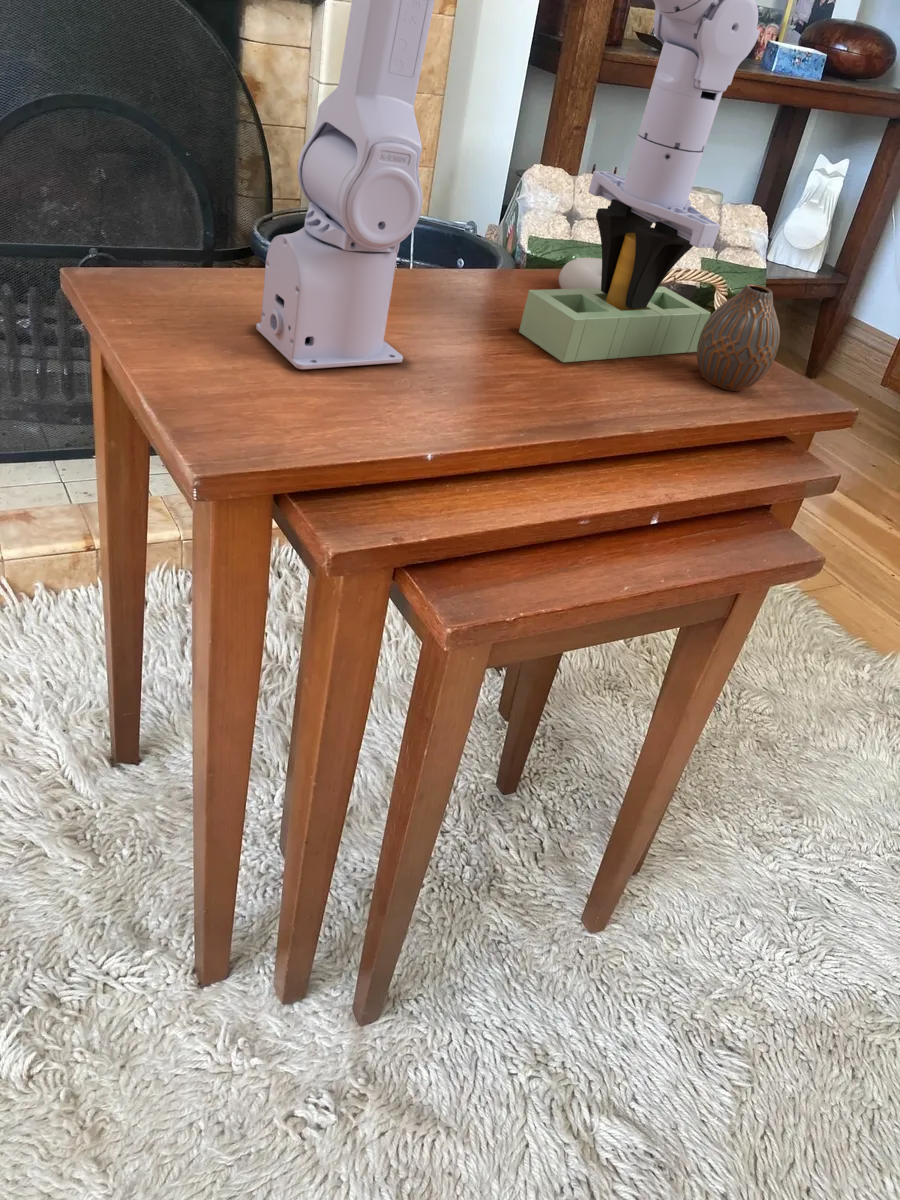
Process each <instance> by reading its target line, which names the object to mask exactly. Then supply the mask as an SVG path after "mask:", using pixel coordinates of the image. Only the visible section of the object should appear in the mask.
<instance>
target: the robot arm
mask: <svg viewBox="0 0 900 1200" xmlns="http://www.w3.org/2000/svg"><path fill="white" fill-rule="evenodd" d="M435 1H436V0H351V2H350V10H349V17H348V24H347V29H346V37H345V43H344V49H343V55H342V62H341V68H340V74H339V81H338V85H337V86H336V88H335V89H333V91H331V93H330V94H328V96H327V97H325V98H324V99H323V100H322V101H321V102H320V104H319V105H318V107H317V114H316V119H315V124H314V126H313V127H314V128H313V130H312V131H311V134H310V136H309V137H308V139H307V140H306V142H305V143H304V145H303V146H302V149H301V150H300V154H299V157H298V162H297V168H296V169H297V181H298V184H299V187H300V189H301V192H302V194H303V196H304V197H305V198H306V199H307V201H308V208H307V211H306V213H305V218H304V225H303V227H302V228H300V229H299V230H297V231H295V232H294V231H293V232H292V233H283V234H279V235H276V236H274V237H273V238H272V240H271V241H270V243H269V246H268V249H267V252H266V257H265V268H264V279H263V291H262V303H261V315H260V322H258V323H256V327H255V329H256V330H257V331H258V332H259V334H261V335H262V336H263V338H265V339H266V340H267V341H268V342H269V343H270V344H271V345H272V346H273V347H274V348H275V349H276V350H277V351H278V352H279V353H280V354H281V355H282V356H283V357H284V358H285V359H287V361H289V362H290V363H291V365H293V366H294V367H295V368H296V369H297V370H315V369H330V368H342V367H343V368H344V367H355V366H356V367H357V366H372V365H385V364H399V363H403V360H404V356H403V355H402V354H401V353H400V352H398V351H397V350H396V349H395V348H394V347H393V346H391V345H390V344H389V343H388V342H386V341H385V334H386V330H387V323H388V317H389V309H390V303H391V298H392V297H391V296H392V290H393V285H394V280H395V279H394V278H395V271H396V266H397V259H398V255H399V254H398V253H399V252H400V251H399V250H400V245H401V243H402V242H403V241H404V240H406V239H407V238H408V237H409V235H411V234H412V232H413V230H414V229H415V228H416V226H417V224H418V222H419V220H420V217H421V214H422V210H423V203H424V202H423V201H424V197H423V189H422V184H421V180H420V162H421V157H422V152H423V144H422V139H421V135H420V130H419V125H418V122H417V118H416V113H415V102H416V97H417V93H418V86H419V83H420V77H421V72H422V67H423V62H424V57H425V53H426V52H425V51H426V46H427V41H428V37H429V32H430V27H431V21H432V17H433V12H434V7H435ZM652 1H653V2H654V6H655V7H654V8H655V10H654V16H653V17H654V18H653V30H654V31H653V32H654V34H655V39H657V40H658V41H659V42H660V43H661V44H662V47H661V51H660V55H659V59H658V62H657V65H656V69H655V73H654V77H653V79H652V84H651V87H650V90H649V94H648V98H647V101H646V105H645V109H644V112H643V116H642V119H641V123H640V126H639V130H638V133H637V136H636V140H635V144H634V147H633V150H632V154H631V157H630V160H629V163H628V164H629V165H628V168H627V172H626V174H625V177H623V176H620V175H618V174H615V173H613V172H610V171H604V170H603V171H599V170H594V171H593V173H592V177H591V181H590V185H589V188H588V194H590V195H592V196H595V197H602V198H604V200H605V199H606V200H607V201H609V202H610V204H609V205H607V208H603V207H599V208H597V210H596V213H595V219H596V222H597V223H596V224H597V226H598V231H599V237H600V245H601V259H602V278H601V291H602V292H604V293H608V292H609V289H610V285H611V282H612V278H613V275H614V272H615V268H616V265H617V261H618V258H619V255H620V251H621V248H622V244H623V241H624V237H625V234H626V233H635V236H636V251H635V262H634V268H633V273H632V277H631V281H630V284H629V288H628V292H627V297H626V306H627V307H629V308H631V309H638V308H646V306H647V305H648V303H649V301H650V300H651V298H652V296H653V295H654V293H655V291H656V290H657V288H658V287H660V285H661V284H662V282H663V281H664V279H665V277H666V276H667V275H668V273H669V272H670V271H671V270H672V269H673V267H675V265H676V264H677V263H678V262H679V261H680V260H681V259H682V258H683V257H684V255H686V254H687V253H688V252H689V251H690V250H691V249H692V248H693V247H695V248H698V249H700V248H702V249H703V248H705V249H707V248H708V249H712V248H714V245H715V242H716V239H717V237H718V234H719V230H720V228H721V224H720V223H717V222H716V221H714V220H713V219H711V218H709V217H707V216H706V215H704V214H703V213H702V212H700V211H699V210H697V209H696V208H695V207H694V206H692V200H691V199H689V197H690V195H691V191H692V188H693V185H694V182H695V180H696V176H697V173H698V170H699V167H700V164H701V160H702V157H703V154H704V151H705V148H706V147H707V146H706V145H707V142H708V139H709V136H710V133H711V130H712V126H713V124H714V120H715V117H716V115H717V111H718V109H719V105H720V102H721V99H722V96H723V93H725V92H726V91H727V89H728V87H729V86H731V85H732V82H733V79H734V76H735V74H736V71H737V69H738V67H739V66H740V64H741V63H742V62H743V61H745V59H746V58H747V57H748V55H749V54H750V53H751V51H752V50H753V49H754V47H755V45H756V43H757V41H758V39H759V36H760V35H761V32H760V31H761V30H759V29H758V23H759V8H758V3H757V2H756V0H652ZM653 224H655V225H654V227H652V226H653Z"/></svg>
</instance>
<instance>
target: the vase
mask: <svg viewBox="0 0 900 1200" xmlns="http://www.w3.org/2000/svg"><path fill="white" fill-rule="evenodd" d="M773 295H774V294H773V291H772V290H771V289H770V288H768V287H766V286H762V285H761V284H755V283H747V284H745V285H744V286H743V288H742V289H741V290H740V291H738V293H737V294H735V295H734V296H732V297H731V298H729V299H728V300H726V301H725V302H724V303H722V304H721V305H719V306H718V307H717V308H716V309H715V310H714V311H713V312H712V313H711V314H710V317H709V319H708V320H707V322H706V323H705V325H704V327H703V329H702V332H701V334H700V338H699V341H698V346H697V352H696V363H697V367H698V369H699V372H700V374H701V376H702V378H703V379H704V380H705V381H706V382H708V383H709V384H711V385H712V386H715V387H718V388H720V389H723V390H726V391H732V392H733V391H735V392H740V391H744V390H746V389H748V388H751V387H752V386H754V385H756V384H757V383H759V382H760V381H761V380H762V379H763V378H764V376H765V375H766V374H767V373H768V372H769V370H770V368H771V367H772V366H773V363H774V361H775V358H776V356H777V353H778V350H779V346H780V339H781V337H780V336H781V329H780V324H779V319H778V316H777V312H776V309H775V306H774V296H773Z"/></svg>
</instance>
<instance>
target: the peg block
mask: <svg viewBox="0 0 900 1200" xmlns="http://www.w3.org/2000/svg"><path fill="white" fill-rule="evenodd" d="M607 296H608V293H604V292H602V291H601V288H590V289H561V288H553V289H549V288H548V289H529V290H528V293H527V297H526V302H525V306H524V310H523V313H522V317H521V321H520V324H519V325H520V326H519V330H518V333H519V334H521V335H522V336H524V337H525V338H526V339H528V340H529V341H530V342H532V343H534V344H536V345H537V346H538V347H540V348H541V349H542V350H544V351H545V352H547V353H548V354H550V355H551V356H553V357H554V359H557V360H558V361H559V362H561V363H564V364H565V363H573V362H574V363H575V362H576V363H577V362H588V361H602V360H614V359H626V358H639V357H650V356H652V357H653V356H663V355H676V354H686V353H687V354H689V353H697V346H698V341H699V338H700V334H701V332H702V329H703V327H704V325H705V323H706V322H707V320H708V319H709V317H710V316H711V315H712V313H711V312H710V311H709V310H707V309H705V308H703V307H701V306H700V305H698V304H697V303H694V302H692V301H691V300H689V299H687V298H685V297H684V296H682V295H680V294H678V293H677V292H675V291H673V290H671V289H669V288H667V287H666V286H659V287H658V288H657V290H656V291H655V293H654V295H653V296H652V298H651V300H650V301H649V303H648V305H647V306H646V308H638V309H637V310H627V311H620V310H619V309H617V308H615V307H614V306H612V305H611V304H609V303H607V302H606V299H607Z"/></svg>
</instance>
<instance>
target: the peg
mask: <svg viewBox="0 0 900 1200" xmlns="http://www.w3.org/2000/svg"><path fill="white" fill-rule="evenodd" d="M635 251H636V236H635V233H626V234H625V237H624V241H623V244H622V248H621V251H620V255H619V258H618V261H617V265H616V268H615V272H614V275H613V278H612V282H611V285H610V289H609V292H608V296H607V299H606V302H607V303H609V304H611V305H612V306H614V307H615V308H617V309H619V310H620V311H627V310H637V309H631V308H629V307H627V306H626V297H627V292H628V288H629V284H630V281H631V277H632V273H633V268H634V262H635Z"/></svg>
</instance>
